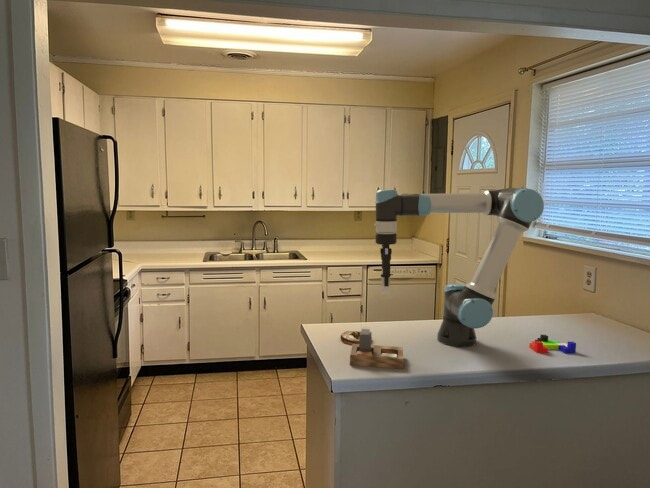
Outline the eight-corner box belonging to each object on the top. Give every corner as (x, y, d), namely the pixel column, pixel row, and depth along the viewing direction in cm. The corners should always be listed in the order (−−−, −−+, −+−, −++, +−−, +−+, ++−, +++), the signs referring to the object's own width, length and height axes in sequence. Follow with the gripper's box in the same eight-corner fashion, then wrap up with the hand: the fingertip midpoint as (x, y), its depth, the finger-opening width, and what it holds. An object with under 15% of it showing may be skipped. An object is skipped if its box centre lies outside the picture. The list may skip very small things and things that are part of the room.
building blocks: (557, 343, 198) (558, 332, 197) (575, 354, 185) (576, 343, 184) (521, 342, 197) (522, 332, 196) (536, 354, 184) (537, 343, 184)
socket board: (402, 356, 176) (402, 345, 176) (402, 368, 164) (403, 357, 164) (352, 352, 178) (353, 342, 178) (349, 364, 167) (350, 353, 166)
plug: (370, 353, 173) (371, 326, 172) (370, 357, 169) (371, 330, 168) (359, 353, 174) (360, 325, 173) (358, 357, 170) (359, 329, 169)
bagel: (341, 333, 202) (342, 323, 202) (377, 337, 198) (377, 327, 198) (332, 344, 188) (333, 334, 188) (370, 349, 184) (371, 338, 184)
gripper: (375, 229, 188) (375, 283, 190) (375, 236, 163) (375, 298, 166) (395, 229, 187) (394, 283, 190) (398, 236, 162) (397, 298, 165)
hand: (385, 290), depth 178 cm, fingers open, 13 cm apart
